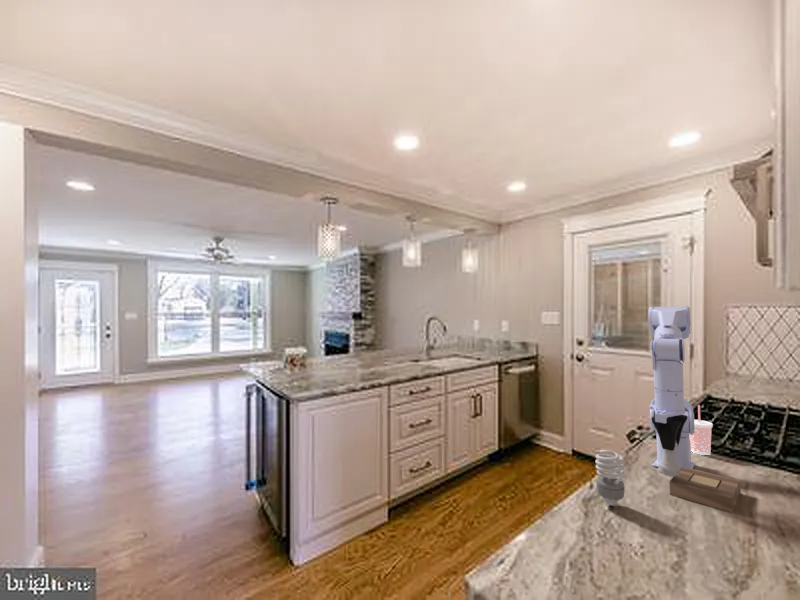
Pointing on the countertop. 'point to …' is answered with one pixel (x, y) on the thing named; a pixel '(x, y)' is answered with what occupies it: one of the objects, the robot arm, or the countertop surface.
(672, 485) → the socket block
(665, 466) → the rook chess piece
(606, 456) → the light bulb
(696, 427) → the beverage cup
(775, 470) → the countertop surface
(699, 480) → the brass plunger
